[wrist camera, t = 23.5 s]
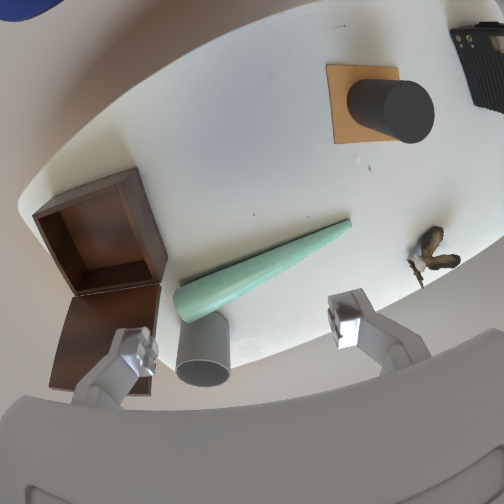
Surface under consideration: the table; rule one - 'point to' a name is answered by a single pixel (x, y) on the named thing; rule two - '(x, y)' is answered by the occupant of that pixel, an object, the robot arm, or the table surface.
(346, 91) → the cork mat
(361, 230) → the table surface
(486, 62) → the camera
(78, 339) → the chest lid
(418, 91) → the dark grey cylinder
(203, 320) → the cup
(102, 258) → the chest
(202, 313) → the mint green cone
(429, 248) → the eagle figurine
